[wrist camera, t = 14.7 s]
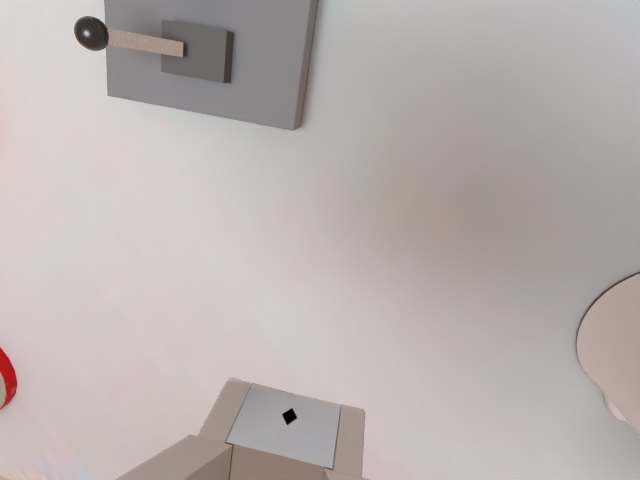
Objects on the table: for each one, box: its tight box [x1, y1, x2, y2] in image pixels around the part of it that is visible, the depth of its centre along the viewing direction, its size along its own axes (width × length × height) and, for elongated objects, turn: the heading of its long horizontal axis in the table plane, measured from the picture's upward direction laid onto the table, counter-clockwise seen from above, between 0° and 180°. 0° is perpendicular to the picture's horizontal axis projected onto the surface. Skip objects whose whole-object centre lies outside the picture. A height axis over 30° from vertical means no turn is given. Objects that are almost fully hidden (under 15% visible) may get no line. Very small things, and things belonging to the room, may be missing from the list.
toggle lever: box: [74, 16, 183, 57], centre depth 28 cm, size 2×2×7 cm
